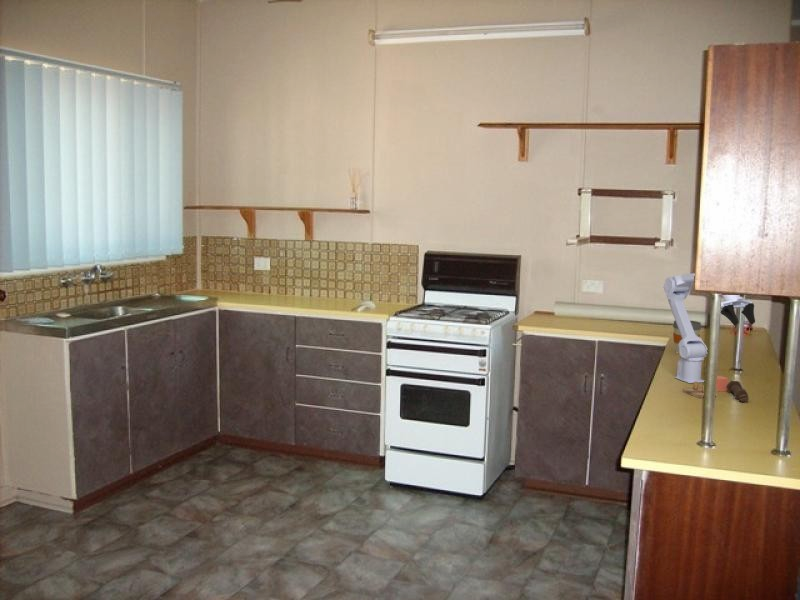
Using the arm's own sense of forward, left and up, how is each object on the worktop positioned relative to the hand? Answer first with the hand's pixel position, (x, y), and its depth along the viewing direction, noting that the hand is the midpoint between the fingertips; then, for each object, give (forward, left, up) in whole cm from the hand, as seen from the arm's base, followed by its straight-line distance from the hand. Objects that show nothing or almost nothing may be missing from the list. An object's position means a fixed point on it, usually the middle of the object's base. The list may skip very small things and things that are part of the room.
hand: (744, 323), depth 295 cm
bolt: (0, 0, -29) cm, 29 cm away
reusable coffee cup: (-75, +34, -29) cm, 87 cm away
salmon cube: (-12, +1, -29) cm, 31 cm away
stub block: (-8, -11, -29) cm, 32 cm away
